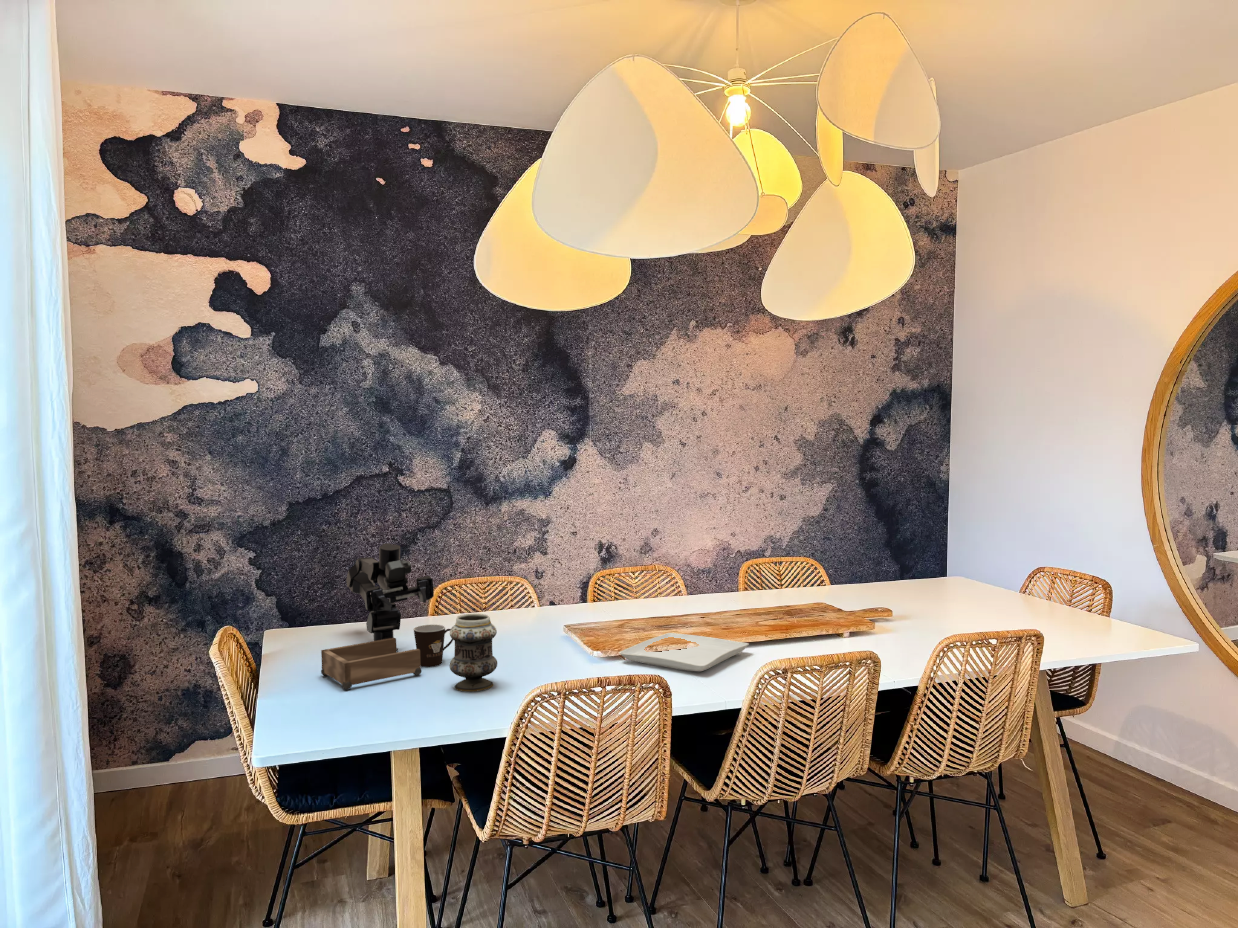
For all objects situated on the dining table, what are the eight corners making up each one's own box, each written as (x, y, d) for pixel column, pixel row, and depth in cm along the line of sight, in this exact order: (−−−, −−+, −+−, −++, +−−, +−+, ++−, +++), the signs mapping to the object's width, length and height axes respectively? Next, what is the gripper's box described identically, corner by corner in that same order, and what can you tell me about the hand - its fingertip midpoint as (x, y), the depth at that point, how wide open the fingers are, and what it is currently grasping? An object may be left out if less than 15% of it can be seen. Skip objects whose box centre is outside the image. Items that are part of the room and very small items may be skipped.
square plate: (750, 655, 261) (750, 641, 261) (703, 679, 239) (703, 664, 239) (668, 642, 277) (668, 629, 276) (617, 664, 254) (617, 650, 254)
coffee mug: (415, 669, 251) (414, 633, 250) (413, 660, 259) (412, 625, 259) (458, 665, 254) (457, 629, 254) (455, 657, 262) (454, 622, 262)
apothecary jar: (507, 685, 235) (505, 616, 234) (468, 696, 226) (466, 624, 225) (479, 676, 243) (477, 609, 242) (440, 686, 235) (438, 616, 234)
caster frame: (319, 675, 246) (318, 649, 246) (395, 661, 259) (394, 636, 259) (344, 691, 232) (343, 664, 232) (423, 675, 245) (422, 649, 244)
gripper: (356, 563, 254) (371, 583, 241) (422, 551, 263) (440, 569, 250) (359, 601, 257) (375, 622, 244) (424, 587, 266) (442, 607, 253)
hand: (408, 604), depth 247 cm, fingers open, 9 cm apart
